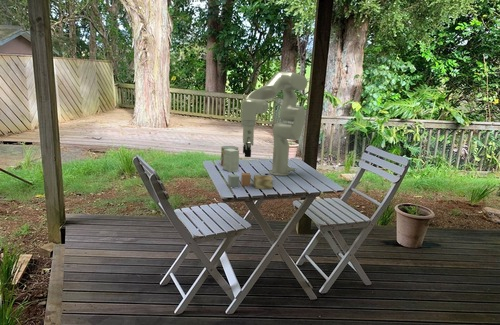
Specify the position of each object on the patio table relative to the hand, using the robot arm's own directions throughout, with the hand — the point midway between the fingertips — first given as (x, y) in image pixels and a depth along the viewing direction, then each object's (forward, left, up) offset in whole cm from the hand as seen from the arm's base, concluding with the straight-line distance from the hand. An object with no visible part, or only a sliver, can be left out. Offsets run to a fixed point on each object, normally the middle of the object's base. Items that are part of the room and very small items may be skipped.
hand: (246, 155), depth 200 cm
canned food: (+6, -46, -17) cm, 49 cm away
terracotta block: (0, 0, -17) cm, 17 cm away
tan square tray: (-9, +3, -16) cm, 19 cm away
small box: (+6, -32, -17) cm, 36 cm away
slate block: (+7, +4, -16) cm, 18 cm away
